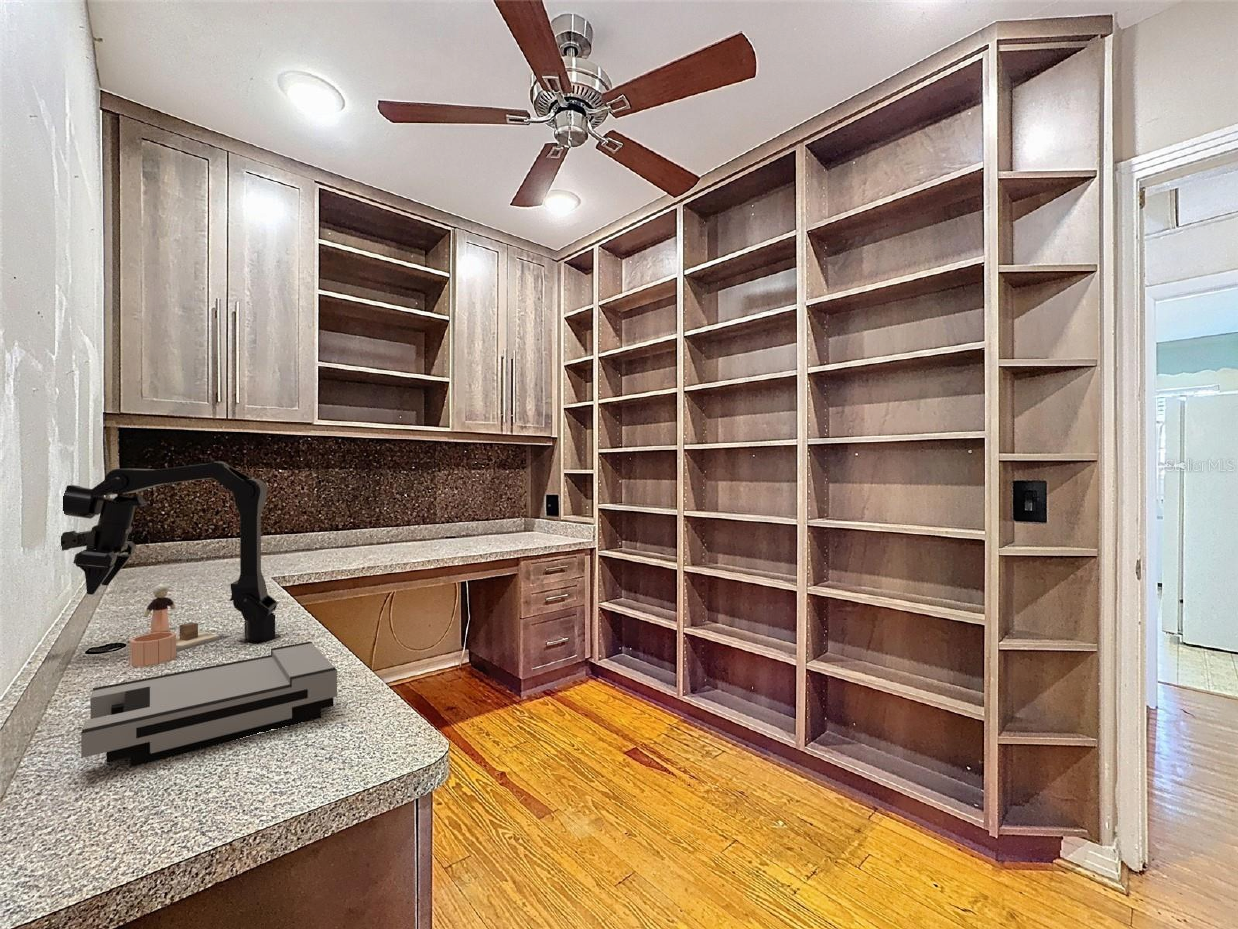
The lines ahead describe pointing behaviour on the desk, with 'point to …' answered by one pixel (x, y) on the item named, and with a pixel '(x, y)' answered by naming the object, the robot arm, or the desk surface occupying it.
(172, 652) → the bowl
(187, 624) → the lid
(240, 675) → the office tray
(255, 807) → the desk surface
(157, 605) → the grandmother figurine
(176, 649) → the mat
